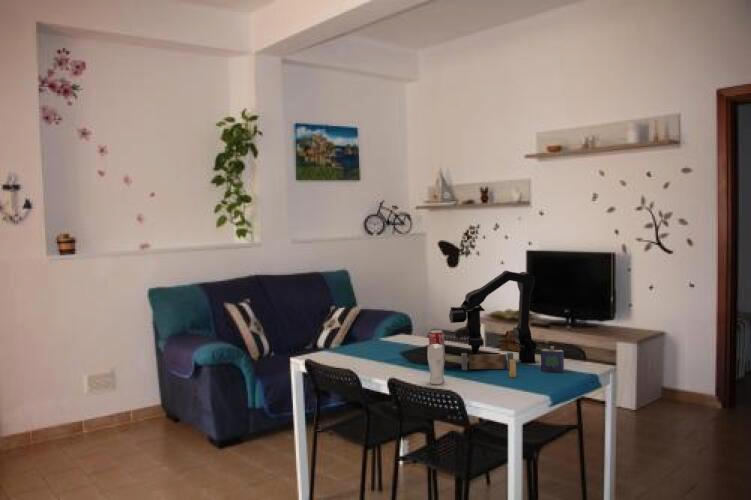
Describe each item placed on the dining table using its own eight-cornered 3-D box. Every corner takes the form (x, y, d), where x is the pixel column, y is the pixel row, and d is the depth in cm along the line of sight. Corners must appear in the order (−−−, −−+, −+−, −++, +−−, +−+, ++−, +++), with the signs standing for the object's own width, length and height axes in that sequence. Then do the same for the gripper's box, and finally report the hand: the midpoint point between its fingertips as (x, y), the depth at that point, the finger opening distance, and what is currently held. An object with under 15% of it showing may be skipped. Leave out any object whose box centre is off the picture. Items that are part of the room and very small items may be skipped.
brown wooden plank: (506, 367, 268) (506, 354, 267) (507, 369, 266) (506, 355, 265) (469, 368, 270) (468, 354, 269) (469, 369, 267) (469, 356, 267)
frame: (512, 368, 268) (512, 352, 268) (516, 377, 255) (516, 361, 254) (461, 368, 270) (461, 353, 270) (462, 377, 257) (462, 361, 257)
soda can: (444, 354, 295) (443, 329, 294) (444, 358, 288) (444, 332, 287) (429, 354, 296) (428, 329, 295) (429, 358, 289) (428, 333, 288)
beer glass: (427, 380, 256) (425, 344, 254) (443, 379, 256) (442, 343, 255) (429, 385, 249) (428, 348, 247) (447, 384, 249) (446, 347, 248)
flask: (563, 370, 262) (563, 345, 261) (563, 372, 259) (563, 347, 258) (541, 370, 264) (540, 345, 263) (540, 372, 261) (540, 346, 260)
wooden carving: (497, 351, 296) (497, 331, 295) (498, 349, 301) (497, 328, 300) (533, 352, 292) (532, 331, 292) (533, 350, 297) (532, 329, 296)
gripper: (454, 317, 283) (455, 351, 284) (456, 326, 264) (457, 362, 266) (479, 316, 282) (480, 350, 283) (482, 325, 263) (483, 362, 265)
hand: (474, 356), depth 274 cm, fingers closed
